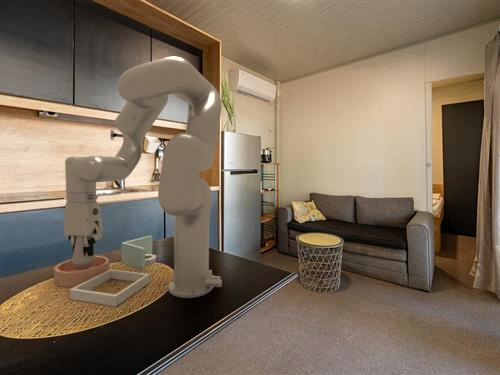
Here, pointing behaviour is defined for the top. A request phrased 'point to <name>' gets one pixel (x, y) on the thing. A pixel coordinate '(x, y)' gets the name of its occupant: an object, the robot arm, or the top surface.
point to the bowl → (79, 272)
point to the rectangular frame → (85, 295)
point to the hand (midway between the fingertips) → (83, 257)
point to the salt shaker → (81, 255)
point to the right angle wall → (138, 252)
